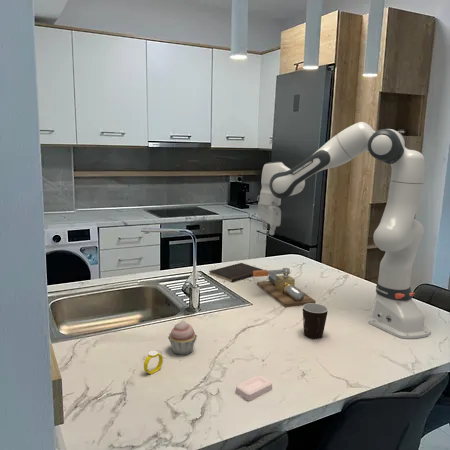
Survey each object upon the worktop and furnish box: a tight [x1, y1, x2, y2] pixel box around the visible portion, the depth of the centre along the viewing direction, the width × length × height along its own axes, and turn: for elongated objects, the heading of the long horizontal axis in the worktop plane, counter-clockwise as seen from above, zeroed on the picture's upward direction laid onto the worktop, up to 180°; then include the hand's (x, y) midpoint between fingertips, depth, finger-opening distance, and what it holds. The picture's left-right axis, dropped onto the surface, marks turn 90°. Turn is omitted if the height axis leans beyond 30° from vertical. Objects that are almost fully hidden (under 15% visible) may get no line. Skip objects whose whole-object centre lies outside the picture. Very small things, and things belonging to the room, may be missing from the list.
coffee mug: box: [302, 303, 329, 340], centre depth 148 cm, size 12×9×10 cm
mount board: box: [256, 280, 317, 308], centre depth 189 cm, size 28×14×2 cm, turn 19°
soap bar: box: [235, 374, 273, 402], centre depth 116 cm, size 5×9×2 cm, turn 131°
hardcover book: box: [208, 262, 264, 283], centre depth 215 cm, size 16×23×2 cm
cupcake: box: [167, 320, 198, 356], centre depth 136 cm, size 9×9×10 cm
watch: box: [143, 350, 164, 375], centre depth 124 cm, size 6×3×6 cm, turn 139°
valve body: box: [267, 274, 304, 302], centre depth 188 cm, size 26×6×8 cm, turn 19°
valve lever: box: [253, 267, 291, 278], centre depth 185 cm, size 17×3×2 cm, turn 109°
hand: (267, 232), depth 186 cm, fingers open, 8 cm apart
